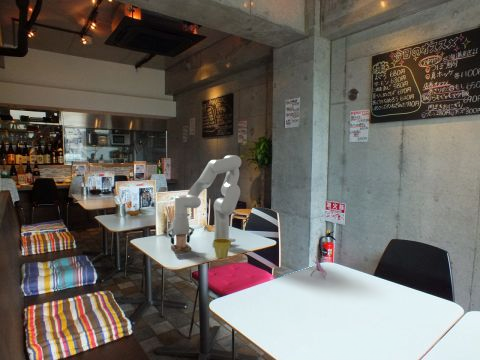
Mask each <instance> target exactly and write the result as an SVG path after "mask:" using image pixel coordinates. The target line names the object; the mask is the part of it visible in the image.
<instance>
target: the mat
mask: <svg viewBox="0 0 480 360" xmlns="http://www.w3.org/2000/svg"><path fill="white" fill-rule="evenodd" d="M174 256H175V257H176V258H177V259H178V260H179V261H180V260H186V259H191V258H192V259H194V258H199V257H200V256H199V255H198V254H197V253H196V252H195V251H193V252H192V251H191V252H185V253H178V254H174Z"/></svg>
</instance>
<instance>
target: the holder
mask: <svg viewBox="0 0 480 360" xmlns="http://www.w3.org/2000/svg"><path fill="white" fill-rule="evenodd" d="M170 249H171V251H172V252H173V253H174V255H177V254H185V253H192V246H191V245H189V243H186V248H181V249H176V244H174V245H173V244H170Z"/></svg>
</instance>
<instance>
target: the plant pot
mask: <svg viewBox="0 0 480 360" xmlns="http://www.w3.org/2000/svg"><path fill="white" fill-rule="evenodd" d="M229 239H230V238H229ZM229 239H225V238H218V239H215V240H214V239H213V242H212V243H213V246H214V253H215V258H218V259H226V258H228V254H229V251H230V248H231V246H232V242H231V240H229ZM213 246H212V247H213Z"/></svg>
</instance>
